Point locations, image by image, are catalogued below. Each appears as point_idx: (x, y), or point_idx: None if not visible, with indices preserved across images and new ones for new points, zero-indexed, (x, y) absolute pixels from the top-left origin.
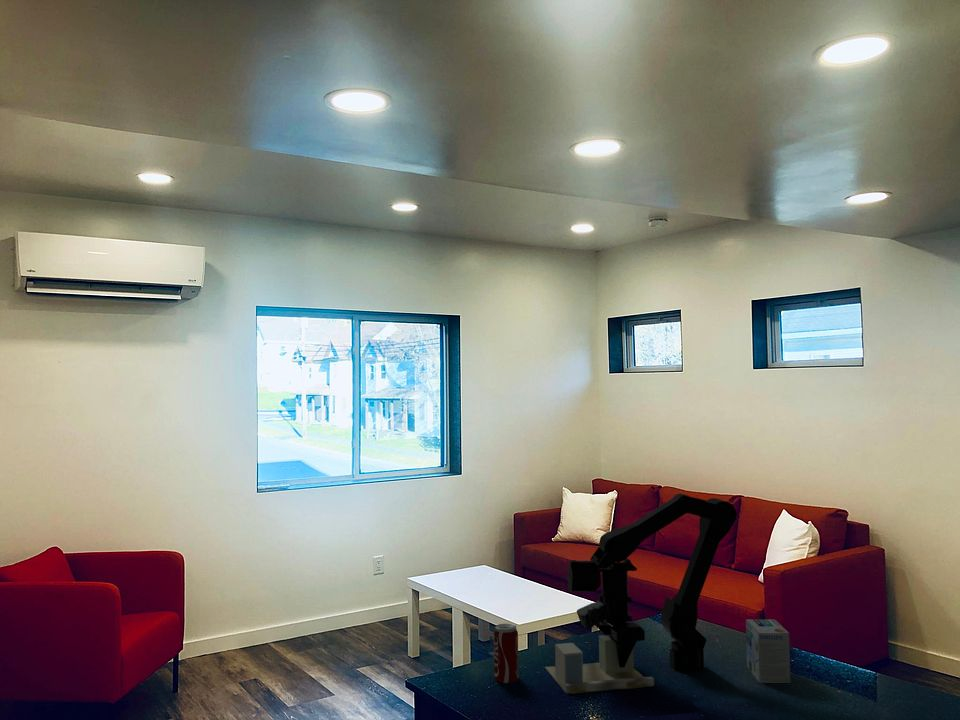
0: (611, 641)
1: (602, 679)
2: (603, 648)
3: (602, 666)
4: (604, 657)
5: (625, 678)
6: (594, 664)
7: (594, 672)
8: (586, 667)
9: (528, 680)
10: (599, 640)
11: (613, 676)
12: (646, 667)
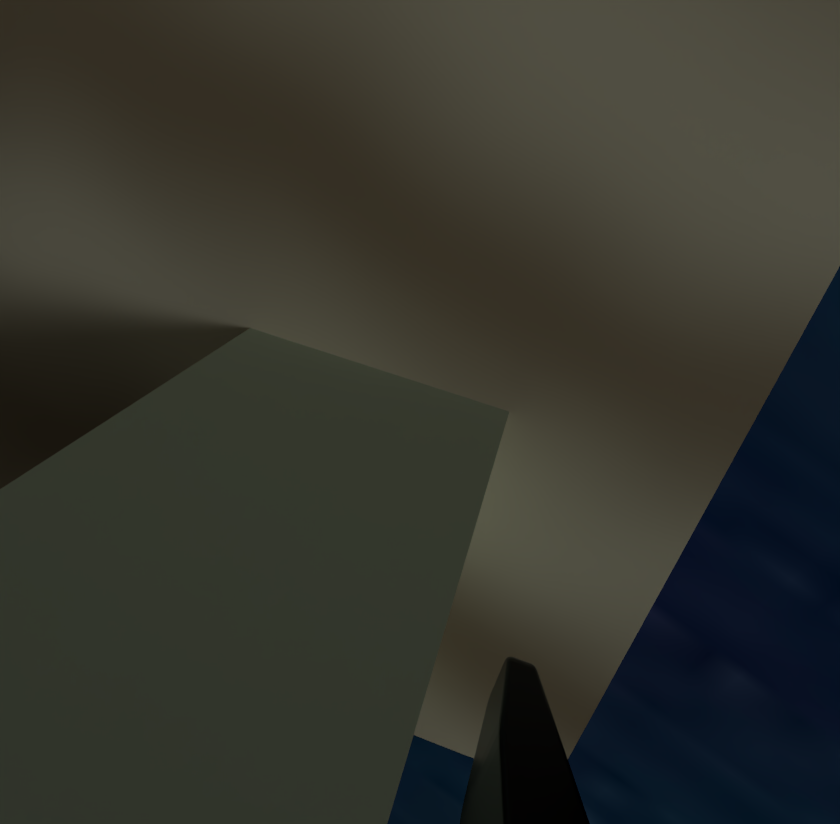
0: None
1: (52, 134)
2: (74, 566)
3: (354, 391)
4: (153, 442)
5: (43, 425)
6: (666, 433)
7: (351, 204)
8: (626, 226)
9: None
10: (322, 809)
11: (132, 350)
12: (400, 810)
